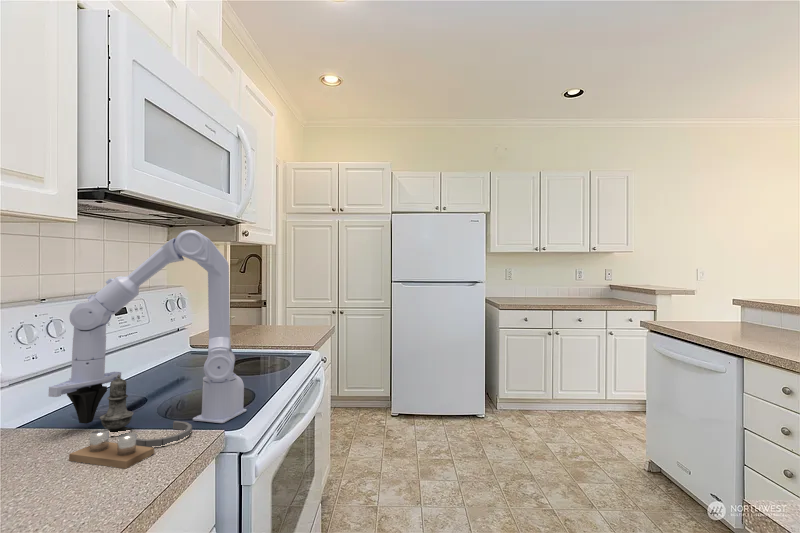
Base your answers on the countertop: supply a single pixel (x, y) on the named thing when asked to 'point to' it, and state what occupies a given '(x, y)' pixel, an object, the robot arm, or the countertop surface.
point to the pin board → (112, 450)
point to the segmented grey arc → (163, 441)
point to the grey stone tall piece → (117, 408)
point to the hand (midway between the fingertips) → (85, 422)
